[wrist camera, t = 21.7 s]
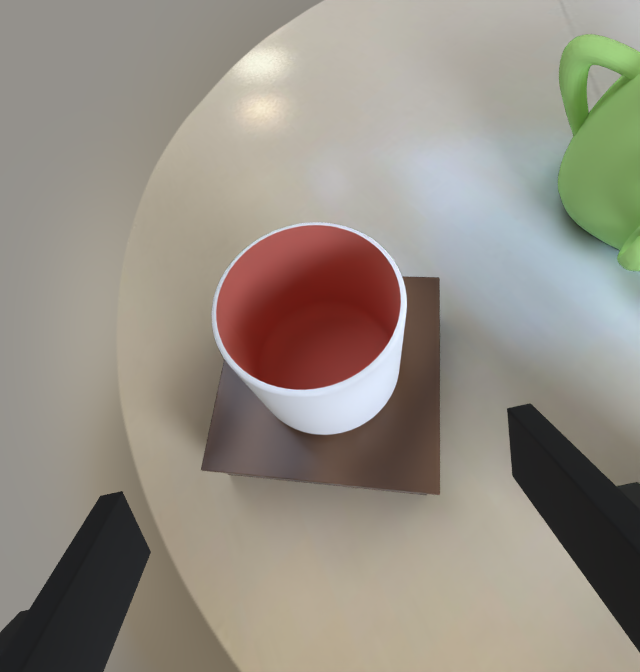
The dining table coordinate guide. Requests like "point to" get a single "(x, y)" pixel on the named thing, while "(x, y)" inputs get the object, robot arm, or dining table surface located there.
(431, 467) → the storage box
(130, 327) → the dining table surface
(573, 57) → the teapot
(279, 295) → the cup
